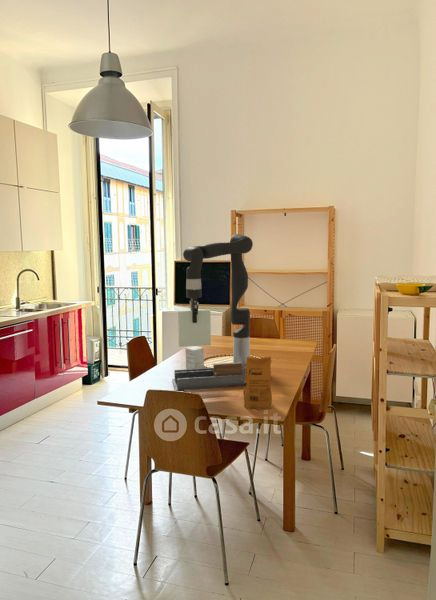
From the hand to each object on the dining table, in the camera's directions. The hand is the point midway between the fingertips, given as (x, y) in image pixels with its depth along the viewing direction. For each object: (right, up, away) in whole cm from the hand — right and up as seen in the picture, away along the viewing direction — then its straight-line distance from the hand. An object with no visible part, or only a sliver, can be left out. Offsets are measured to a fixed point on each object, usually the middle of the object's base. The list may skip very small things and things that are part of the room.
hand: (194, 322), depth 239 cm
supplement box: (-1, -28, +28) cm, 39 cm away
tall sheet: (0, -12, +2) cm, 12 cm away
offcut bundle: (+17, -30, 0) cm, 34 cm away
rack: (+9, -31, +1) cm, 32 cm away
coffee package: (+29, -35, -29) cm, 54 cm away
